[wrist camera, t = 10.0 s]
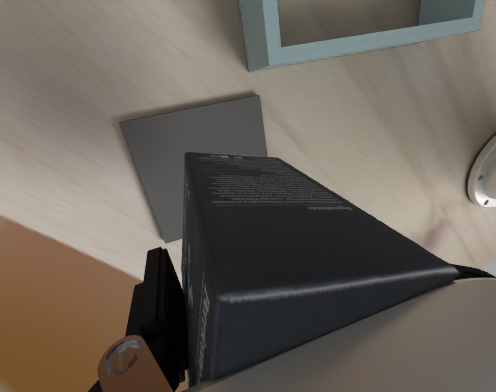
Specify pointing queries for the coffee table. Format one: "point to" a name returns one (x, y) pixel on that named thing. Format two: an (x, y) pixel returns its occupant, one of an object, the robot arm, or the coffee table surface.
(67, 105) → the coffee table surface
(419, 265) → the box
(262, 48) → the cubby
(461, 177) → the coffee table surface
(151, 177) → the mat
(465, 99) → the coffee table surface
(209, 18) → the coffee table surface
